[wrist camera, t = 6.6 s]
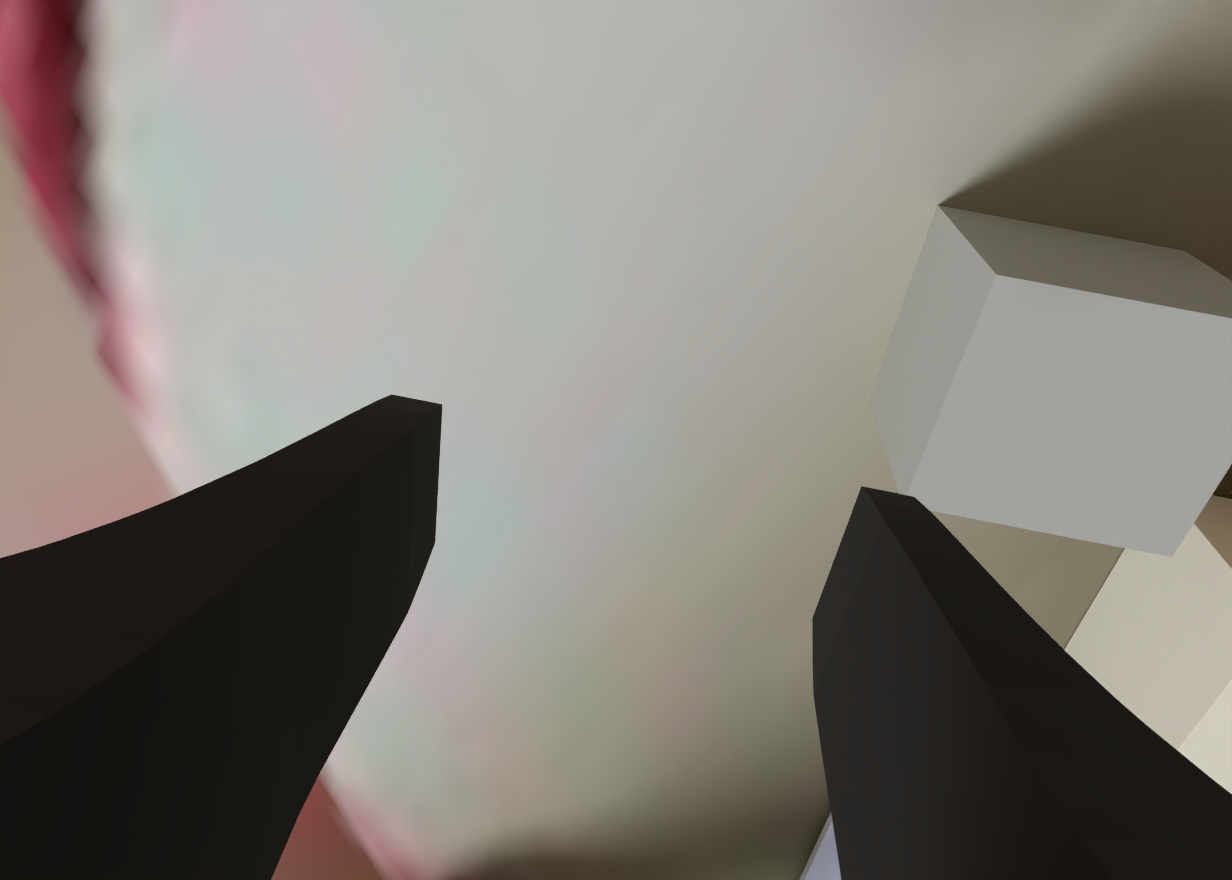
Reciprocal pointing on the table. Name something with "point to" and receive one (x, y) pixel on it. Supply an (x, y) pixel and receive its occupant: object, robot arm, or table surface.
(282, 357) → the table surface
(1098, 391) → the plug
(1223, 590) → the socket housing
